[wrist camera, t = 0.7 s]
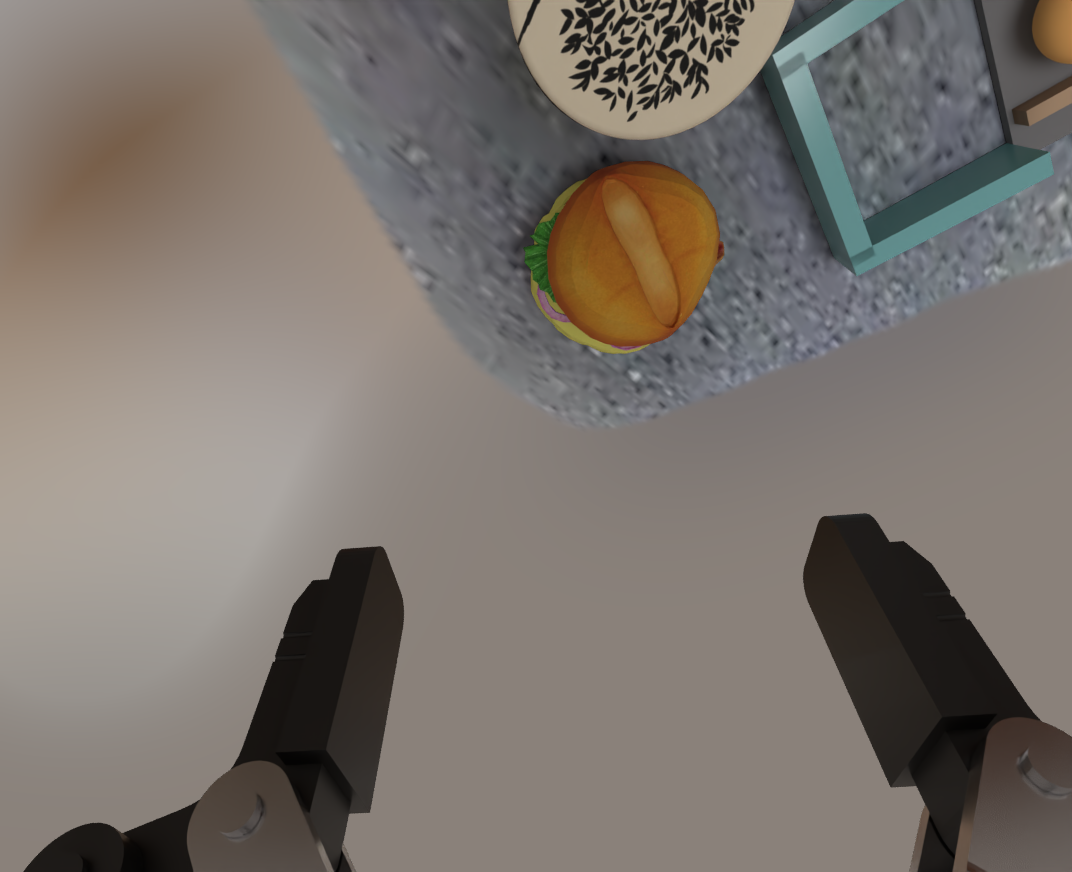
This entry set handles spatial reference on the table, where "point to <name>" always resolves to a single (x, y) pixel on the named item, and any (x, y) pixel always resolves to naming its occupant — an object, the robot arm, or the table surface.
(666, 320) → the cheeseburger
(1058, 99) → the channel
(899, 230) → the teal u-shaped frame
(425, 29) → the table surface
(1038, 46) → the ball
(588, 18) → the travel mug
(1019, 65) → the mat
